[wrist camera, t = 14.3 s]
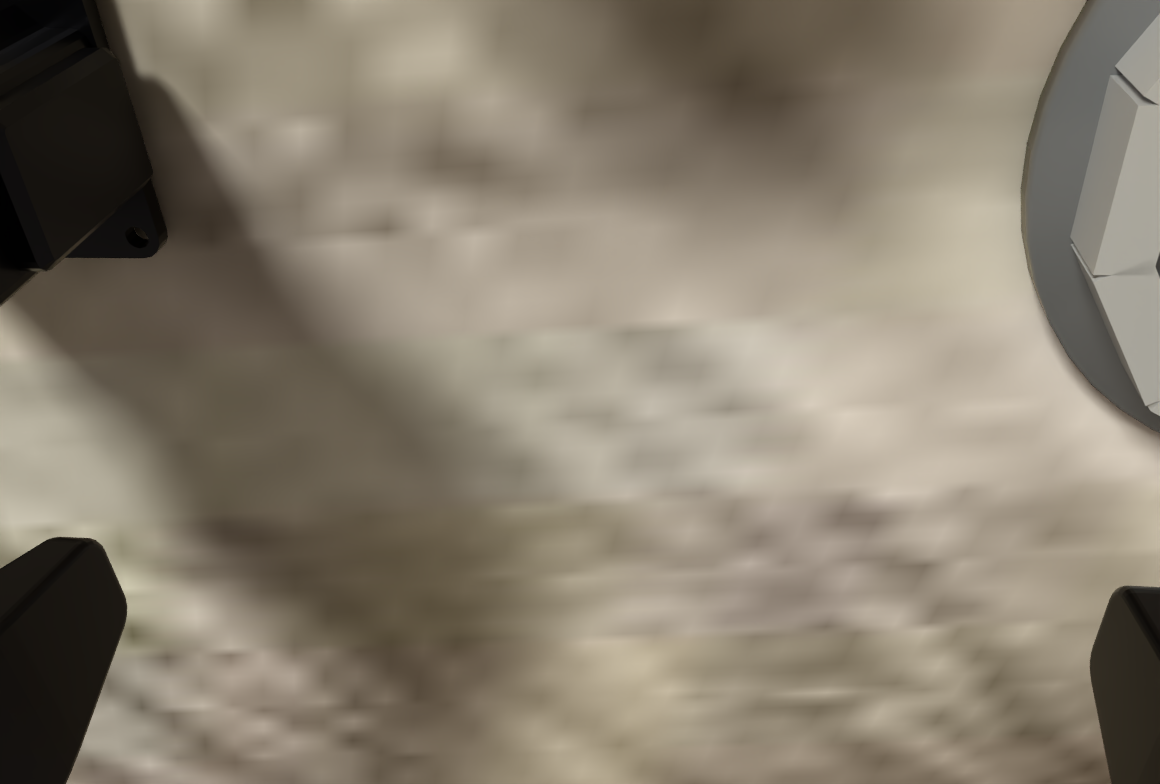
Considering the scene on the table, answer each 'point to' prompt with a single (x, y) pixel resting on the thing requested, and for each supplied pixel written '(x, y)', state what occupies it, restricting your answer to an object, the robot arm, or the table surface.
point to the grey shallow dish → (1101, 201)
